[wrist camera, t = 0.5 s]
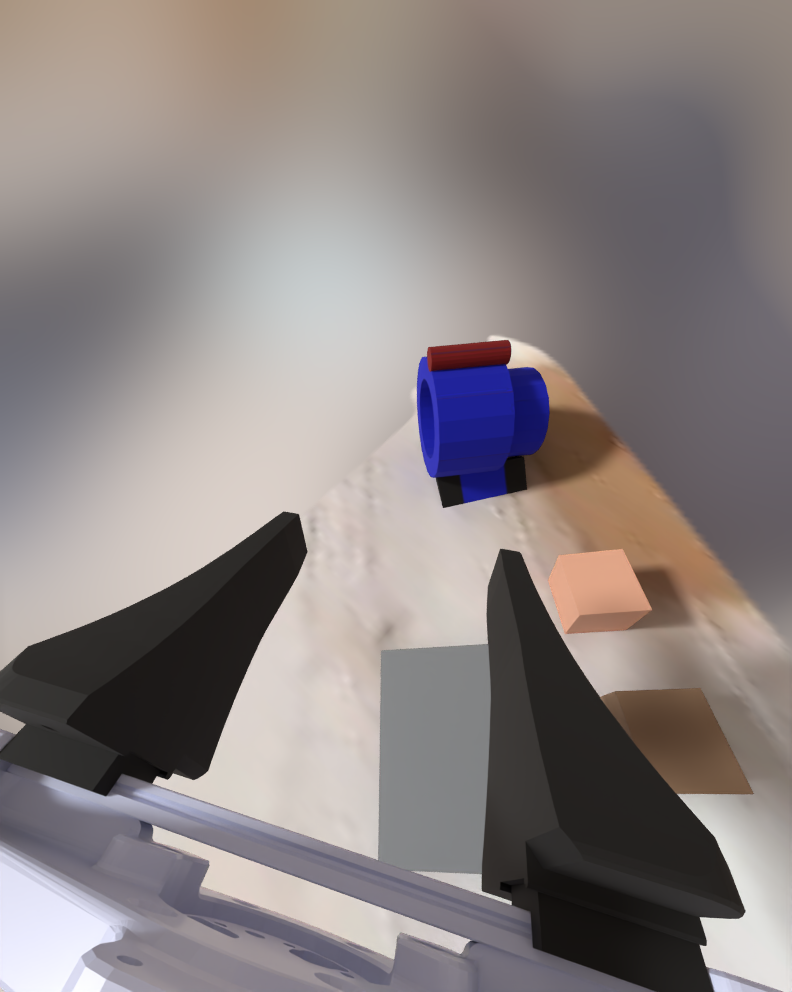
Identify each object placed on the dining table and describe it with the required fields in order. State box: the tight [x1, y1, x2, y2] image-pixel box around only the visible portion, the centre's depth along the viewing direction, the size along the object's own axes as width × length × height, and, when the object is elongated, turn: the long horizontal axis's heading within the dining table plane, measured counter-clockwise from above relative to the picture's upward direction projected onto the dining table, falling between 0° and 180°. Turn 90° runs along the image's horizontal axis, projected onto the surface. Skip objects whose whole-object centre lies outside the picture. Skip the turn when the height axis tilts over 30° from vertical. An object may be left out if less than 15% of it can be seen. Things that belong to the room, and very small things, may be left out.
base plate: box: [378, 644, 491, 874], centre depth 23 cm, size 12×12×2 cm
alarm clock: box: [417, 340, 549, 508], centre depth 33 cm, size 12×12×15 cm
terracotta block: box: [548, 549, 652, 634], centre depth 25 cm, size 4×4×5 cm
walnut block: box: [600, 688, 754, 794], centre depth 20 cm, size 4×4×5 cm
